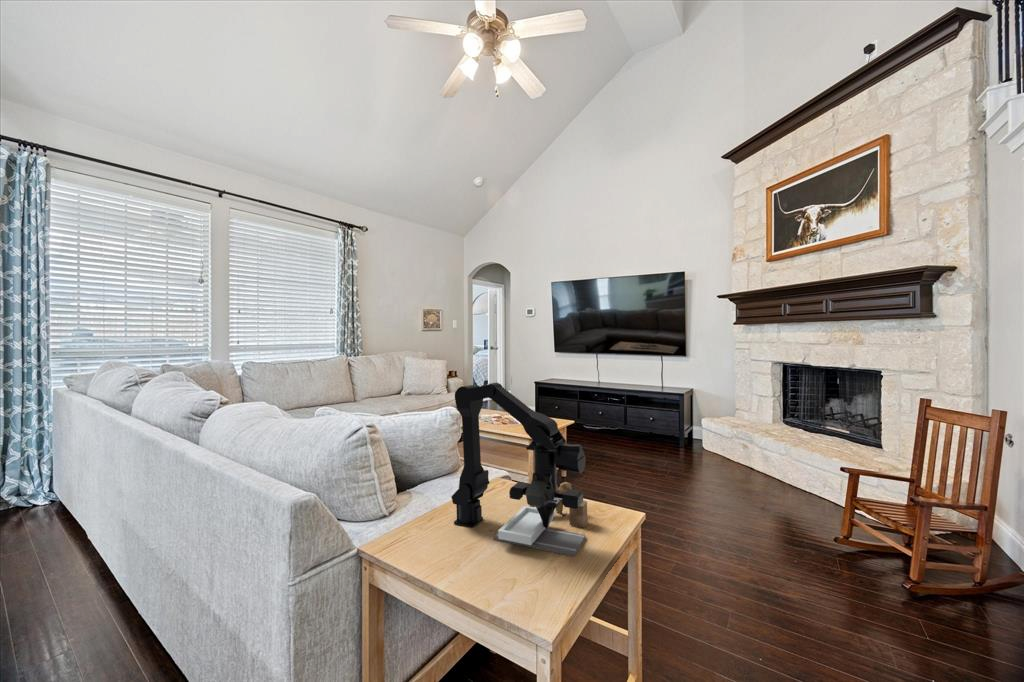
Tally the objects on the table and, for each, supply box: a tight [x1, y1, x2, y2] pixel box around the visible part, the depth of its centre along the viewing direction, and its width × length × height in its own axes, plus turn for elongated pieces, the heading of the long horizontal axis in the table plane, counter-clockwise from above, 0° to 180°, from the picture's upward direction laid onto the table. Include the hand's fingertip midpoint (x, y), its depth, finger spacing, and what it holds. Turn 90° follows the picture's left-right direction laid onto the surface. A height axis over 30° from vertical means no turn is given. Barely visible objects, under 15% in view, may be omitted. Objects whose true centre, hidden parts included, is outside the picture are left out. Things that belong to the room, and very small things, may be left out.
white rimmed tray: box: [497, 505, 555, 545], centre depth 109 cm, size 9×17×4 cm, turn 155°
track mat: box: [493, 527, 587, 557], centre depth 108 cm, size 22×10×1 cm, turn 65°
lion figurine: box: [529, 481, 573, 516], centre depth 123 cm, size 15×5×9 cm, turn 104°
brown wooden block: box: [568, 500, 588, 529], centre depth 116 cm, size 4×4×6 cm
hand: (546, 527), depth 107 cm, fingers closed
